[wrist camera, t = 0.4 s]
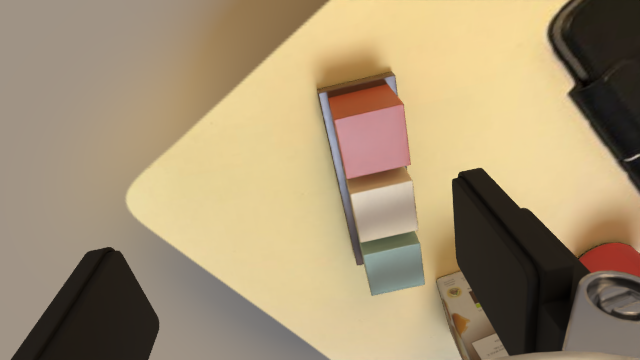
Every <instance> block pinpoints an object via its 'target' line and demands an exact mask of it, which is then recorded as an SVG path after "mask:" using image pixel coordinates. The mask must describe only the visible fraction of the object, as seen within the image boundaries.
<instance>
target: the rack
mask: <svg viewBox="0 0 640 360" xmlns="http://www.w3.org/2000/svg"><path fill="white" fill-rule="evenodd" d="M385 84H388V85H389V86H390V88H391V89H392V90H393V91H394V93H395V94H396V95H397V87H396V79H395V75H394V74H393V73H392V72H388V73H384V74H380V75H376V76H372V77H367V78H363V79H359V80H355V81H351V82H346V83H342V84H338V85H334V86H330V87H325V88H321V89H318V90H317V92H318V96H319V100H320V105H321V109H322V114H323V118H324V122H325V127H326V131H327V136H328V140H329V144H330V149H331V153H332V158H333V162H334V166H335V171H336V175H337V180H338V184H339V188H340V193H341V197H342V202H343V206H344V210H345V215H346V219H347V224H348V228H349V232H350V237H351V241H352V246H353V250H354V254H355V259H356V263H357V265H362V264H364V267H365V271H366V275H367V279H368V283H369V287H370V291H371V295H372V296H373V295H378V294H383V293H387V292H392V291H397V290H401V289H406V288H411V287H415V286H420V285H424V284H425V281H424V273H423V264H422V256H421V247H420V242H419V240H418V238H417V236H416V234H415V231H416V230H418V223H417V214H416V206H415V197H414V189H413V181H412V179H411V177H410V175H409V174H408V172H407V167H406V166H403V167H399V168H395V169H390V170H386V171H381V172H377V173H373V174H368V175H364V176H360V177H355V178H351V179H347V178H346V175H345V171H344V167H343V164H342V160H341V156H340V153H339V148H338V144H337V139H336V135H335V130H334V125H333V121H332V116H331V111H330V107H329V102H328V98H331V97H335V96H339V95H343V94H347V93H352V92H356V91H360V90H364V89H369V88H373V87H377V86H381V85H385ZM397 96H398V95H397Z"/></svg>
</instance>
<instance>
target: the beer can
mask: <svg viewBox="0 0 640 360" xmlns="http://www.w3.org/2000/svg"><path fill="white" fill-rule="evenodd" d="M578 260H579V261H580V262H581V263H582V264H583V265H584V266H585V267H586V268H587V269H588V270H589V271H590V272H591V273H593V272H597V271H609V270H612V271H620V272H626V273H629V274H633V275H636V276H639V277H640V253H639V252H637V251H636V250H635V249H634V248H632V247H631V246H630V245H626V244H622V243H606V244H603V245H600V246H597V247H595V248H593V249H591V250H589V251H587V252H586V253H585V254H584V255H582V256H581V257H580V258H579V259H578Z"/></svg>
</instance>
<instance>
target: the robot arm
mask: <svg viewBox="0 0 640 360" xmlns="http://www.w3.org/2000/svg"><path fill="white" fill-rule="evenodd" d="M452 193H453V211H454V229H455V247H456V259H457V263H458V265H459V268H460V270H461V272H462V273H463V275H464V277H465V279H466V280H467V282H468V284H469V286H470V288H471V289H472V291H473V293H474V295H475V296H476V298H477V300H478V302H479V304H480V305H481V307H482V309H483V311H484V312H485V314H486V316H487V318H488V319H489V321H490V323H491V325H492V327H493V328H494V330H495V332H496V334H497V335H498V337H499V339H500V341H501V343H502V344H503V346H504V348H505V350H506V351H507V353H508V355H509V356H506V357H498V358H492V359H486V360H640V277H639V276H636V275H633V274H629V273H626V272H620V271H612V270H609V271H597V272H593V273H591V272H590V271H589V270H588V269H587V268H586V267H585V266H584V265H583V264H582V263H581V262H580V261H579V260H578V259H577V258H576V256H575V255H574V254H573V253H572V252H571V251H570V250H569V249H568V248H567V247H566V246H565V245H564V244H563V243H562V242H561V241H560V240H559V239H558V238H557V237H556V236H555V235H554V234H553V233H552V232H551V231H550V230H549V229H548V228H547V227H546V226H545V225H544V224H543V223H542V222H541V221H540V220H539V219H538V218H537V217H536V216H535V215H534V214H533V213H532V212H531V211H530V210H528V209H526V208H520V207H519V206H518V205H517V204H516V203H515V202H514V201H513V200H512V199H511V198H510V197H509V196H508V195H507V194H506V193H505V192H504V191H503V190H502V189H501V187H500V186H499V185H498V184H497V183H496V182H495V181H494V180H493V179H492V178H491V177H490V176H489V175H488V174H487V173H486V172H485V171H484V170H483V169H482V168H476V169H472V170H467V171H462V172H459V174H458V178H455V179H453V180H452ZM158 331H159V319H158V317H157V315H156V313H155V311H154V309H153V308H152V306H151V304H150V302H149V301H148V299H147V297H146V295H145V294H144V292H143V290H142V288H141V287H140V285H139V283H138V281H137V280H136V278H135V276H134V274H133V272H132V271H131V269H130V267H129V265H128V264H127V262H126V260H125V258H124V257H123V255H122V253H121V252H120V251H115V250H114V249H113V248H111V247H107V248H102V249H98V250H93V251H89V252H87V253H86V254H85V255H84V257H83V258H82V260H81V261H80V263H79V264H78V265H77V267H76V268H75V270H74V271H73V273H72V274H71V275H70V277H69V278H68V280H67V281H66V282H65V284H64V286H63V287H62V288H61V289H60V291H59V292H58V294H57V295H56V297H55V298H54V299H53V301H52V302H51V304H50V305H49V306H48V308H47V309H46V311H45V312H44V313H43V315H42V316H41V318H40V319H39V321H38V322H37V323H36V325H35V326H34V328H33V329H32V330H31V332H30V333H29V335H28V336H27V338H26V339H25V340H24V342H23V343H22V345H21V346H20V347H19V349H18V351H17V352H16V353H15V354H14V356H13V357H12V359H11V360H148V359H149V356H150V353H151V350H152V348H153V345H154V342H155V339H156V337H157V334H158Z"/></svg>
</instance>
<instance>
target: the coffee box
mask: <svg viewBox="0 0 640 360" xmlns="http://www.w3.org/2000/svg"><path fill="white" fill-rule="evenodd" d="M437 285H438V289H439V292H440V296H441V299H442V303H443V306H444V310H445V313H446V317H447V320H448V324H449V327H450V331H451V334H452V337H453V339H454V341H455V344H456V346H457V348H458V351H459V353H460V355H461V358H462V360H486V359H492V358H498V357H506V356H509V355H508V353H507V351H506V350H505V348H504V346H503V344H502V343H501V341H500V339H499V337H498V335H497V334H496V332H495V330H494V328H493V327H492V325H491V323H490V321H489V319H488V318H487V316H486V314H485V312H484V311H483V309H482V307H481V305H480V304H479V302H478V300H477V298H476V296H475V295H474V293H473V291H472V289H471V288H470V286H469V284H468V282H467V280H466V279H465V277H464V275H463V273H462V272H461V271H460V272H457V273H454V274H451V275H448V276H444V277H441V278H439V279H438V280H437Z"/></svg>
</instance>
